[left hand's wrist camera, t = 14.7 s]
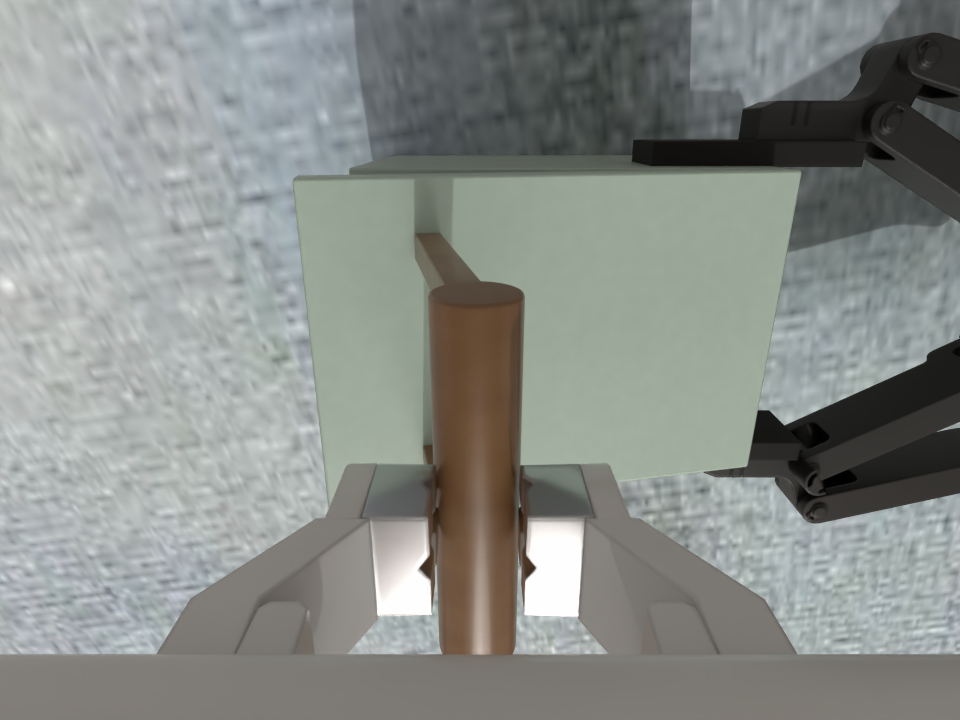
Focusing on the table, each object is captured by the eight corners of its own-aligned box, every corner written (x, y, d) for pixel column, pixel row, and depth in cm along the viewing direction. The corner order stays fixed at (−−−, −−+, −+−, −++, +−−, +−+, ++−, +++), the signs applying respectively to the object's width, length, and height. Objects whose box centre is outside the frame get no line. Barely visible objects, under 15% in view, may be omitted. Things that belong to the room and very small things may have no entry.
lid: (330, 500, 19) (315, 754, 11) (295, 175, 15) (238, 223, 8) (734, 455, 21) (945, 636, 14) (784, 167, 18) (1106, 197, 10)
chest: (403, 360, 30) (370, 453, 21) (393, 154, 26) (348, 167, 18) (664, 361, 30) (735, 454, 21) (688, 154, 26) (786, 167, 18)
